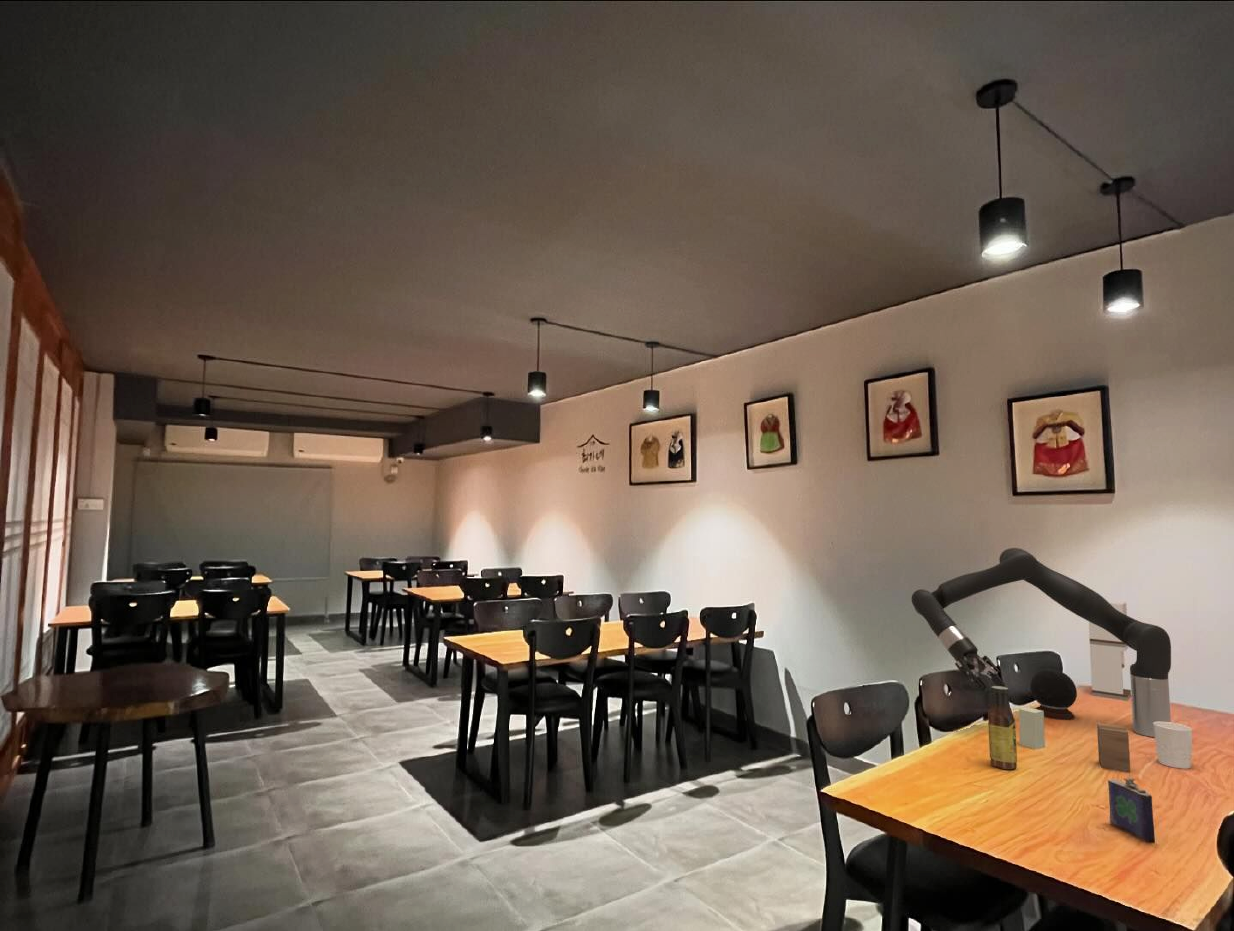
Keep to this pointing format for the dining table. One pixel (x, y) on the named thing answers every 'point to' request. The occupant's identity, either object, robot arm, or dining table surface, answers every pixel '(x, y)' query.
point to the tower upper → (1113, 737)
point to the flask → (1131, 809)
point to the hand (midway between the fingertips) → (994, 688)
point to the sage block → (1031, 728)
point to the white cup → (1173, 744)
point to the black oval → (1054, 693)
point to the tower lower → (1114, 760)
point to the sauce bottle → (1002, 730)
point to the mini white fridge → (1107, 661)
